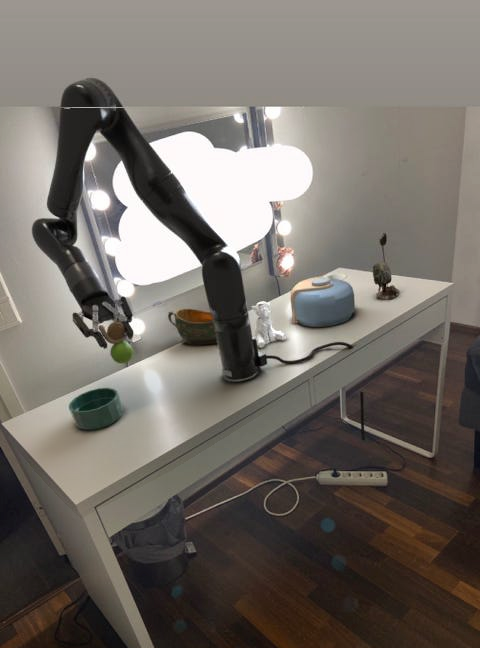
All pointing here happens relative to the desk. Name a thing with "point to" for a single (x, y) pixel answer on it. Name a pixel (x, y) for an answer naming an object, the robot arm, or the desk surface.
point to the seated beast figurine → (265, 326)
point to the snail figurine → (117, 342)
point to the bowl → (96, 408)
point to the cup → (194, 326)
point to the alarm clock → (322, 302)
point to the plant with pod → (383, 276)
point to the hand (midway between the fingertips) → (118, 341)
